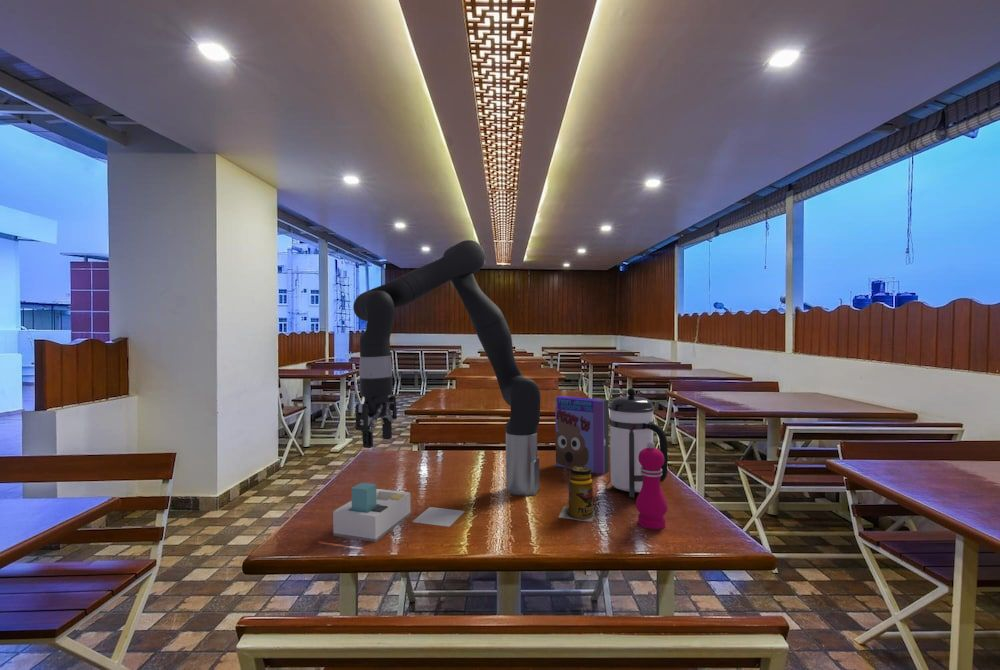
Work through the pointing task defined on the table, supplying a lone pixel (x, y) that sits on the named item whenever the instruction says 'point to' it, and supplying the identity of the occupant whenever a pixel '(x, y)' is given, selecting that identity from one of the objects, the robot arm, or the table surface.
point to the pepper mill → (651, 489)
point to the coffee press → (632, 441)
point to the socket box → (372, 517)
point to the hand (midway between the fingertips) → (378, 443)
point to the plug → (364, 497)
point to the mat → (439, 516)
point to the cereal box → (582, 433)
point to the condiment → (579, 495)
